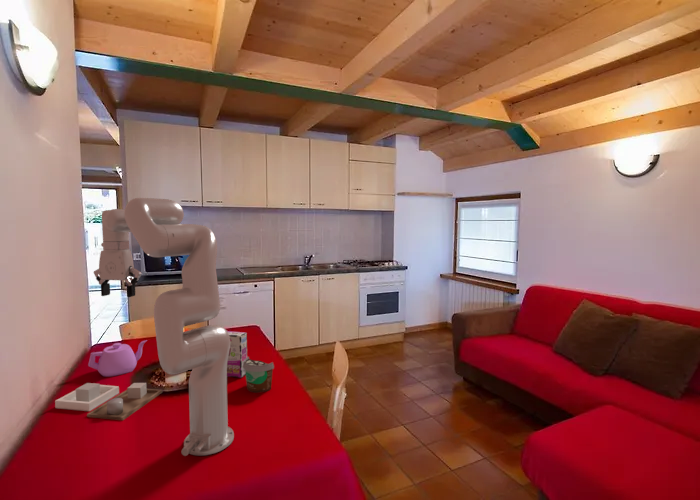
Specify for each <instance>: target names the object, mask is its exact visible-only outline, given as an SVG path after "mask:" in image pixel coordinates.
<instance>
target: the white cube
mask: <svg viewBox="0 0 700 500" xmlns="http://www.w3.org/2000/svg"><path fill="white" fill-rule="evenodd" d="M147 389H148V388H147V382H133V383H132V384H130V386H128V387H127V388H126V390H128V399H131V398H142V397H143V396H144V395H145V394H146V393H147Z"/></svg>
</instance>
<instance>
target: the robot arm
mask: <svg viewBox="0 0 700 500" xmlns="http://www.w3.org/2000/svg"><path fill="white" fill-rule="evenodd" d="M184 214H185V213H184V209H183V207H182V206H181V205H180V204H179V203H178V202H176V201H175V200H172V199H169V198H168V199H167V198H151V197H150V198H149V197H136V198H132V199H131V200H129V201H128V202H127V204H126V206H125V208H123V209H121V208H114V209H106V210H103V211H102V213H101V227H102V228H101V229H102V242H101V244H100V246H101V247H102V248H103V250H101V251H100V253H99V254H100V255H99V261H98V268H97V269H95V270H94V271H93V274H94V277H95V280H96V281H97V282H98V284H99V285H100V293H101V294H100V295H101V296H102V297H106V296H110V295H111V287H110V286H111V284H110V283H109V282H110V281H124V282H126V283H127V285H126V298H132V297H135V296H136V285H137V284H138V282H139V281H140V280H141V279H140V278H141V276H142V274H143V273H142V272H141V271H140V270H138V269H137V268H135V265H134V259H133V255H132V251H131V249H130V239H129V238H130V235H129V233H131V234H132V235H133V237H134V238H135V240H136V242H137V243H138V245H139V247H140V248H141V250H142V251H143V252H144V254H146V255H147V256H149V257H152V258H163V257H164V258H166V257H178V256H179V257H180V256H188V257H187V258H186V259H185V261H184V263H183V266H182V268H181V278H182V279H181V280H182V287H181V288H177V289H170V290H166V291H164V292H162V293H160V294H159V296H158V297H157V298H156V300H155V303H154V307H153V319H154V322H153V323H154V330H155V339H156V347H157V355H158V359H159V365H160V367H161V369H162V370H163V371H164V372H165V373H166V374H168V375H178V374H181V373H184V372H189V371H188V370H191V369H192V371H190V376H189V379H188V403H189V406H188V407H189V408H188V410H189V434H188V435H187V436H186V437H185V439H184V440H183V448H182V449H181V455H182V456H184V457H186V456H188V455H189V454H190V455H192V456H200V457H201V456H209V455H212V454H216V453H218V452H219V453H220V452H221V451H223V450H224V449H227V447H229V446H230V445H232V443H233V441H234V438H235V433H234V430H233V429H232V428H231V427H230V426H228V425H229V423H228V422H229V419H228V414H229V412H228V376H227V362H228V356H229V350H230V337H229V334H228V332H227V331H228V330H227V329H226V328H225V327H223V326H222V325H217V324H210V325H204V326H199V327H197V328H192V329H189V330H186V331H184V329H185V328H184V327H189V326H192V325H197V324H200V323H204V322H208V321H210V320H213V319H215V318H217V317H218V315H219V314H220V310H221V309H220V308H221V303H220V302H221V301H220V294H219V292H220V291H219V285H218V283H219V282H218V276H217V257H218V256H217V255H218V241H217V238H216V235H215V233H214V232H213V230H212V229H211V228H210V227H208V226H205V225H203V224H196V223H181V222H182V221H183V219H184V218H185V217H184V216H185V215H184Z"/></svg>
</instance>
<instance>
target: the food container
mask: <svg viewBox="0 0 700 500" xmlns="http://www.w3.org/2000/svg"><path fill="white" fill-rule="evenodd" d="M243 368H244V369H245V373H246V375H245V382H246V389H247V391H249V392H251V393H256V394H257V393H265V392H269V391H270V390H272V384H273V383H272V382H273V381H272V380H273V371H274V369H275V364H274V362H273V361H272V362H270V363H267V362H265V361H262V360H254V359H251V358H250V356H247V358H246V359H245V361H244V364H243Z"/></svg>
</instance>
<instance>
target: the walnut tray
mask: <svg viewBox="0 0 700 500" xmlns="http://www.w3.org/2000/svg"><path fill="white" fill-rule="evenodd" d="M160 394H163V389H158V388H157V389H156V388H147V393H146V394H145V395H144V396H143V397H142V398H131V399H128V390H127V389H125V390H124V391H122V392H121V393H119V394H117V395H116V396H114V397H112V399H114V398H122V399H123V412H122V413H121V414H119V415H107V401H106V402H104V403H102V404H101V405H99V406H97V407H96V408H94V409H93V410H91V411H89V412H88V413H87V414H86V417H87V418H93V419H96V418H97V419H104V420H105V419H106V420H117V421H124V420H126V419H127V418H129V417H130V416H132V415H133V414H134V413H136V412H137V411H139V410H140V409H141V408H143V407H144V406H146V405H147V404H149V403H150V402H151V401H152V400H154V399H156V398H157V397H159V395H160Z"/></svg>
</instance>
